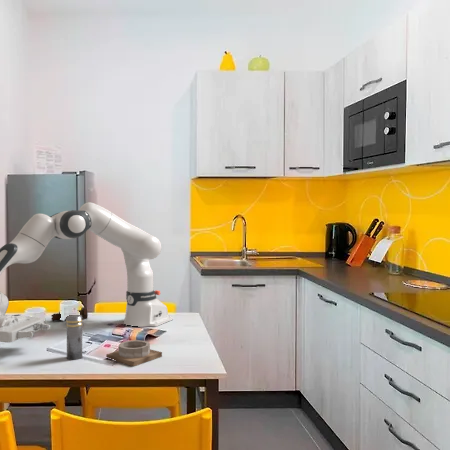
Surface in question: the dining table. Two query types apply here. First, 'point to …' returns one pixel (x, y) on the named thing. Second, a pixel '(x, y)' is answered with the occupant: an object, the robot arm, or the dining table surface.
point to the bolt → (82, 312)
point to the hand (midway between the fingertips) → (41, 330)
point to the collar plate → (134, 360)
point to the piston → (74, 337)
